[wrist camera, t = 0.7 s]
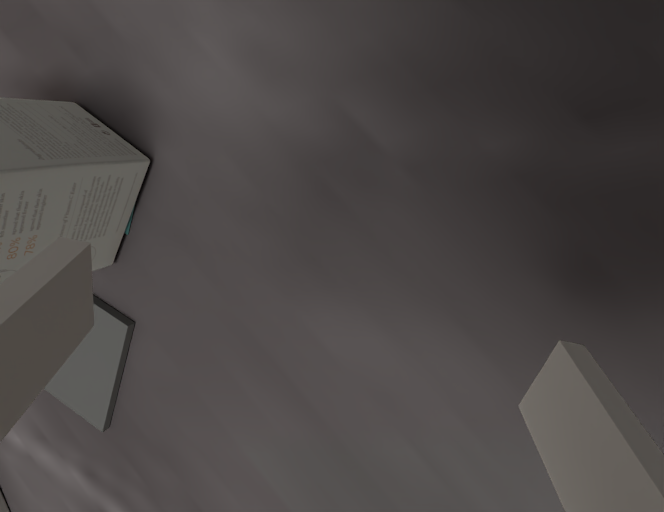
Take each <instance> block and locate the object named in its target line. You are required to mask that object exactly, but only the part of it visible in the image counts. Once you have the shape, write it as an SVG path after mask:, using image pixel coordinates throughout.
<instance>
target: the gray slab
mask: <svg viewBox="0 0 664 512" xmlns="http://www.w3.org/2000/svg"><path fill="white" fill-rule="evenodd" d="M93 308H94V326H93V328H92V329H91V330H90V331H89V332H88V334H87V335H86V336H85V337H84V339H83V340H82V341H81V342H80V344H79V345H78V346H77V347H76V349H75V350H74V351H73V352H72V354H71V355H70V356H69V357H68V359H67V360H66V361H65V362H64V364H63V365H62V366H61V367H60V369H59V370H58V371H57V372H56V374H55V375H54V376H53V377H52V379H51V380H50V381H49V382H48V384H47V385H46V386H45V387H44V389H45V390H46V391H48V392H49V393H50V394H52V395H53V396H54V397H56V398H57V399H58V400H60V401H61V402H62V403H64V404H65V405H66V406H68V407H69V408H70V409H72V410H73V411H74V412H76V413H77V414H78V415H80V416H81V417H82V418H84V419H85V420H86V421H88V422H89V423H90V424H92V425H93V426H94V427H96V428H97V429H98V430H100V431H101V432H104V431H105V430H107V429H108V428H109V426H110V422H111V418H112V414H113V410H114V406H115V402H116V398H117V394H118V390H119V386H120V381H121V377H122V373H123V369H124V365H125V361H126V357H127V353H128V349H129V345H130V341H131V337H132V333H133V329H134V325H135V322H133V321H132V320H130V319H129V318H127V317H126V316H124V315H123V314H121V313H120V312H118V311H117V310H115V309H114V308H112V307H111V306H109V305H108V304H106V303H105V302H103V301H102V300H100V299H98V298H97V297H95V296H94V295H93Z"/></svg>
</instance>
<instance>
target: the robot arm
mask: <svg viewBox="0 0 664 512" xmlns="http://www.w3.org/2000/svg"><path fill="white" fill-rule="evenodd" d="M93 326H94V308H93V284H92V259H91V243H88V242H83V241H78V240H73V239H68V238H64V237H60V238H58V239H57V240H56V241H55V242H53V243H52V244H51V245H50V246H48V247H47V248H46V249H44V250H43V251H42V252H41V253H39V254H38V255H37V256H36V257H34V258H33V259H32V260H30V261H29V262H28V263H27V264H25V265H24V266H23V267H22V268H20V269H19V270H18V271H16V272H15V273H14V274H13V275H11V276H10V277H9V278H8V279H6V280H5V281H4V282H2V283H1V284H0V442H1V441H2V440H3V438H4V437H5V436H6V435H7V433H8V432H9V431H10V430H11V428H12V427H13V426H14V425H15V423H16V422H17V421H18V420H19V418H20V417H21V416H22V415H23V413H24V412H25V411H26V410H27V409H28V407H29V406H30V405H31V404H32V402H33V401H34V400H35V399H36V397H37V396H38V395H39V394H40V392H41V391H42V390H43V389H44V387H45V386H46V385H47V384H48V382H49V381H50V380H51V379H52V377H53V376H54V375H55V374H56V372H57V371H58V370H59V369H60V367H61V366H62V365H63V364H64V362H65V361H66V360H67V359H68V357H69V356H70V355H71V354H72V352H73V351H74V350H75V349H76V347H77V346H78V345H79V344H80V342H81V341H82V340H83V339H84V337H85V336H86V335H87V334H88V332H89V331H90V330H91V329H92V328H93ZM518 407H519V409H520V411H521V414H522V416H523V418H524V420H525V423H526V425H527V427H528V429H529V432H530V434H531V436H532V438H533V441H534V443H535V445H536V447H537V450H538V452H539V454H540V456H541V459H542V461H543V463H544V465H545V468H546V470H547V472H548V474H549V477H550V479H551V481H552V483H553V486H554V488H555V490H556V492H557V495H558V497H559V499H560V501H561V504H562V506H563V508H564V510H565V512H664V455H663V453H662V452H661V451H660V449H659V448H658V446H657V445H656V444H655V442H654V441H653V440H652V438H651V437H650V435H649V434H648V433H647V431H646V430H645V429H644V427H643V426H642V424H641V423H640V422H639V420H638V419H637V418H636V416H635V415H634V413H633V412H632V411H631V409H630V408H629V407H628V405H627V404H626V402H625V401H624V400H623V398H622V397H621V395H620V394H619V393H618V391H617V390H616V389H615V387H614V386H613V384H612V383H611V382H610V380H609V379H608V378H607V376H606V375H605V373H604V372H603V371H602V369H601V368H600V367H599V365H598V364H597V362H596V361H595V360H594V358H593V357H592V356H591V354H590V353H589V351H588V350H587V349H586V347H585V346H584V345H581V344H576V343H571V342H566V341H562V340H559V341H558V343H557V345H556V346H555V348H554V349H553V351H552V353H551V354H550V356H549V357H548V359H547V361H546V362H545V364H544V365H543V367H542V369H541V370H540V372H539V373H538V375H537V377H536V378H535V380H534V382H533V383H532V385H531V386H530V388H529V390H528V391H527V393H526V394H525V396H524V398H523V399H522V401H521V402H520V404H519V406H518Z"/></svg>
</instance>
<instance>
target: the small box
mask: <svg viewBox="0 0 664 512" xmlns="http://www.w3.org/2000/svg"><path fill="white" fill-rule="evenodd" d="M149 164H150V160H149V158H147V157H146V156H145V155H143V154H142V153H141V152H140V151H138V150H137V149H136V148H134V147H133V146H132V145H130V144H129V143H128V142H126V141H125V140H124V139H122V138H121V137H120V136H119V135H117V134H116V133H115V132H113V131H112V130H111V129H109V128H108V127H107V126H105V125H104V124H103V123H101V122H100V121H99V120H97V119H96V118H95V117H93V116H92V115H91V114H89V113H88V112H87V111H85V110H84V109H83V108H81V107H80V106H79V105H78V104H76V103H74V102H64V101H48V100H31V99H16V98H1V97H0V284H1V283H2V282H4V281H5V280H6V279H8V278H9V277H10V276H11V275H13V274H14V273H15V272H16V271H18V270H19V269H20V268H22V267H23V266H24V265H25V264H27V263H28V262H29V261H30V260H32V259H33V258H34V257H36V256H37V255H38V254H39V253H41V252H42V251H43V250H44V249H46V248H47V247H48V246H50V245H51V244H52V243H53V242H55V241H56V240H57V239H58V238H60V237H64V238H68V239H73V240H78V241H83V242H88V243H91V259H92V271H95V270H98V269H101V268H104V267H107V266H110V265H112V264H113V262H114V259H115V256H116V253H117V251H118V248H119V245H120V242H121V240H122V237H123V234H124V232H125V229H126V226H127V224H128V221H129V218H130V216H131V213H132V210H133V207H134V204H135V202H136V199H137V196H138V193H139V191H140V188H141V185H142V182H143V180H144V177H145V174H146V171H147V169H148V166H149Z"/></svg>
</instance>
